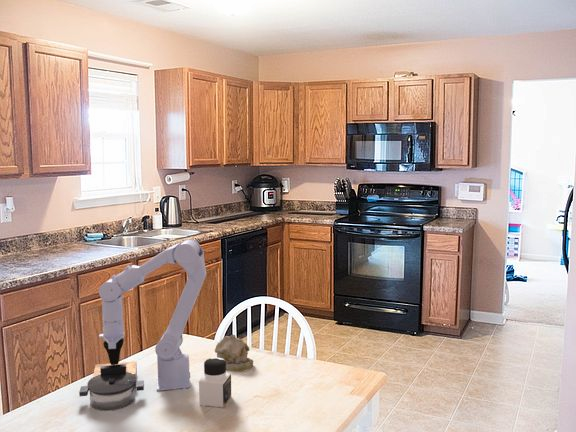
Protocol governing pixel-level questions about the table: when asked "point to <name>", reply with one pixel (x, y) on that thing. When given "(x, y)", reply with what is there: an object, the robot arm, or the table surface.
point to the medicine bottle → (215, 383)
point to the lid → (112, 380)
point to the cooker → (117, 399)
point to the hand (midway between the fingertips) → (114, 363)
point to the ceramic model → (234, 353)
